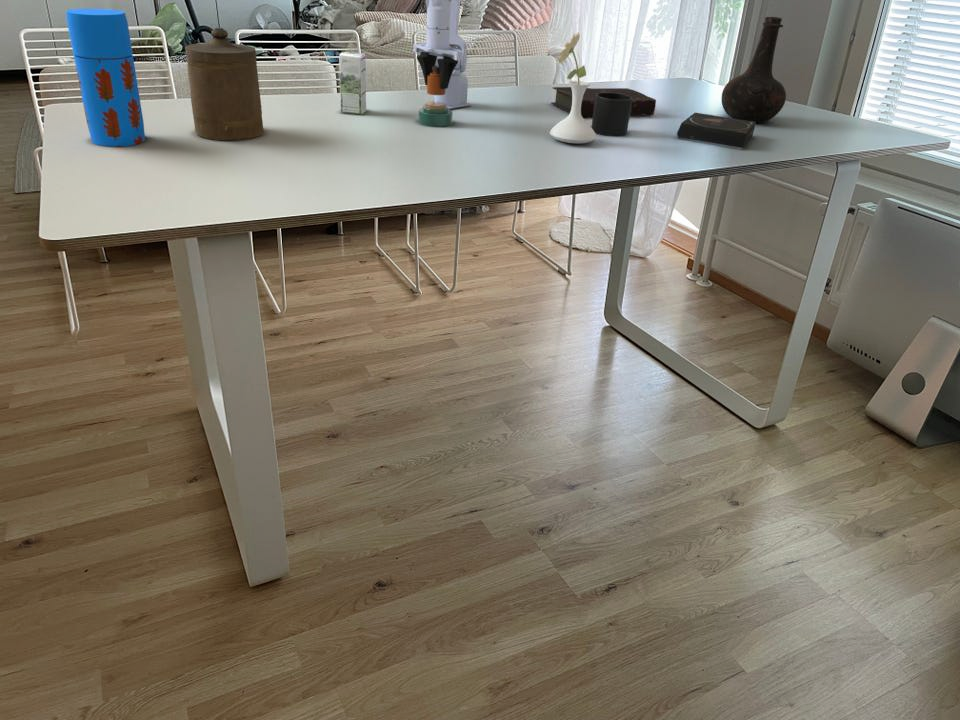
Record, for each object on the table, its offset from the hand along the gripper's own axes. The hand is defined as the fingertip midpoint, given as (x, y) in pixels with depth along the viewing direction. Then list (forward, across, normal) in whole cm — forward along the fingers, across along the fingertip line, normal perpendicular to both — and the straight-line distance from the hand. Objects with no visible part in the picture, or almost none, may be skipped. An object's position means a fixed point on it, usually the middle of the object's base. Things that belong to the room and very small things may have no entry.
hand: (436, 86), depth 186 cm
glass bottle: (+9, +52, +81) cm, 97 cm away
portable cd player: (+9, +55, +50) cm, 75 cm away
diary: (+9, +18, +53) cm, 57 cm away
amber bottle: (+2, 0, 0) cm, 2 cm away
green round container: (+9, 0, 0) cm, 9 cm away
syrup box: (+9, -21, -9) cm, 25 cm away
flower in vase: (+9, +33, +13) cm, 37 cm away
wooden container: (+9, -21, -47) cm, 52 cm away
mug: (+9, +34, +32) cm, 48 cm away
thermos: (+9, -29, -69) cm, 75 cm away
